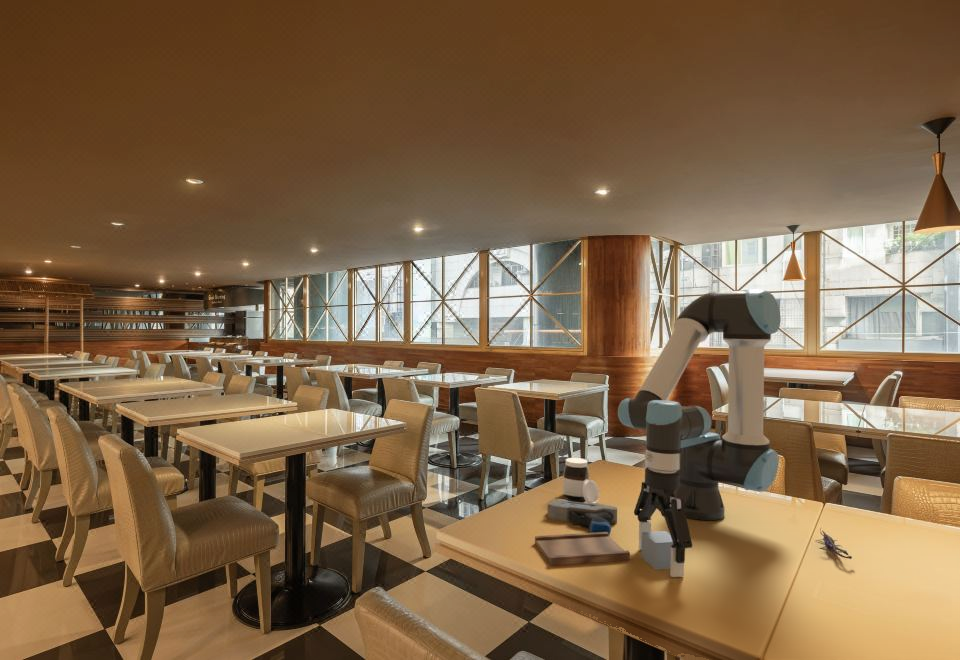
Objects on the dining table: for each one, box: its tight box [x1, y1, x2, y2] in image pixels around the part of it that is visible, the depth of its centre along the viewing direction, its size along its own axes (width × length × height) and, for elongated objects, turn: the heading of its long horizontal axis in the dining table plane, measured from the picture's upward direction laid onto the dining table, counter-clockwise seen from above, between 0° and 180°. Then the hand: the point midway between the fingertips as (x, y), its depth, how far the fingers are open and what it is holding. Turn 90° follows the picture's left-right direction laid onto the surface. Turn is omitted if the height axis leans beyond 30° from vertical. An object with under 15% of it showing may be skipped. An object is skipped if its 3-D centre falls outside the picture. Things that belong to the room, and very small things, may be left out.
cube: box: [641, 530, 678, 571], centre depth 116 cm, size 6×6×6 cm
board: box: [534, 532, 631, 567], centre depth 121 cm, size 19×12×2 cm, turn 101°
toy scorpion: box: [815, 527, 853, 560], centre depth 124 cm, size 6×18×5 cm, turn 159°
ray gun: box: [547, 498, 618, 536], centre depth 138 cm, size 4×19×15 cm
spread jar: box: [562, 457, 600, 504], centre depth 159 cm, size 12×11×12 cm
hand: (659, 561), depth 116 cm, fingers open, 13 cm apart
